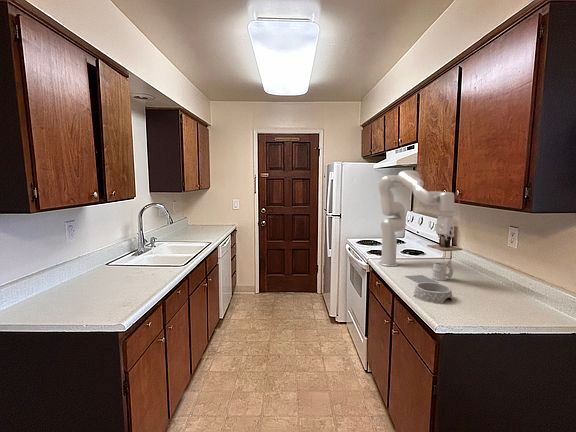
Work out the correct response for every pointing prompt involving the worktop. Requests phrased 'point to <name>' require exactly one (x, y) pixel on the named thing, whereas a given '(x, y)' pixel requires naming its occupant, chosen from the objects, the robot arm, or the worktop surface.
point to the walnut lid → (444, 245)
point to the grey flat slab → (420, 279)
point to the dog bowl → (430, 296)
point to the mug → (442, 271)
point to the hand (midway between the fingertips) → (444, 246)
